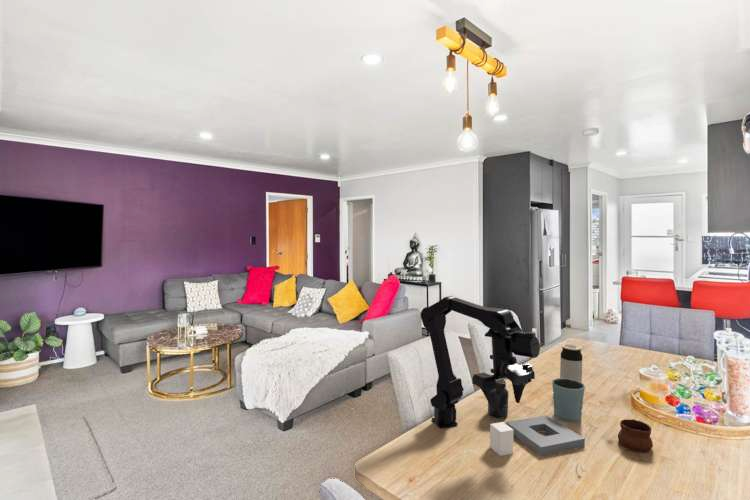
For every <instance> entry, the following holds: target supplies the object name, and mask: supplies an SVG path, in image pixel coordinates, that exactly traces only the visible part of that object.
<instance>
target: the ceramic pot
mask: <svg viewBox="0 0 750 500" xmlns="http://www.w3.org/2000/svg"><path fill="white" fill-rule="evenodd" d="M619 425H620V430H619V431H618V434H617V439H618V445H619V446H621V447H623V449H626V450H629V451H630V452H634V453H640V454H641V453H643V454H644V453H650V452H651V450H652V448H653V447H654V446H653V444H654V443H653V440H652V437H651V434H652V427H651V426H650V425H649V424H647V423H645V422H643V421H641V420H636V419H628V418H627V419H622V420H621V421H620V422H619ZM633 460H635V461H638V462H639V461H640V462H644V463H648V464H649V463H650V464H652V463H653V462H649V461H645V460H644V461H643V460H641V459H634V458H633Z"/></svg>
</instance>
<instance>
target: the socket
mask: <svg viewBox="0 0 750 500" xmlns="http://www.w3.org/2000/svg"><path fill="white" fill-rule="evenodd" d="M505 424H506V425H508V426H509V427H510V428H512V429H513V430H514V433H513V437H516V438H517V439H518V440H519V441H521V443H523V444H525V446H527V447H528V448H530V449H531V450H532V451H534V452H535V453H536V454H538V455H539V456H545V455H546V456H547V455H551V454H552V455H553V454H556V453H561V452H565V451H570V450H576V449H581V448H584V447H585V446H586V445H585V444H586V442H585V441H586V440H585V439H586V438H585V437H583V436H581V435H580V434H578V433H576V432H575V431H573V430H571V429H570V428H569V427H566V426H565V425H563V424H562V423H559V422H558V421H556V420H555V419H554V418H551V417H550V416H548V415H546V414H545V415H544V414H543V415H540V416H533V417H528V418H527V417H526V418H522V419H515V420H514V419H513V420H509V421H505ZM541 432H545V433H546V434H548V435H545V436H543V435H542V434H541Z"/></svg>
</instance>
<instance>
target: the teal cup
mask: <svg viewBox="0 0 750 500" xmlns="http://www.w3.org/2000/svg"><path fill="white" fill-rule="evenodd" d="M551 383H552V384H551V385H552V393H553V394H552V396H553V397H552V398H553V415H554V417H555V418H557V419H558V420H559V421H562V422H565V423H574V424H575V423H580V422H581V421H582V414H583V413H582V410H583V404H584V395H585V394H584V393H585V387H586V386H585V384H584V383H583V382H582V383H581V382H579V381H576V380H573V379H567V378H560V377H558V378H554V379H553V380H552V381H551Z"/></svg>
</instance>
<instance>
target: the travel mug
mask: <svg viewBox="0 0 750 500" xmlns="http://www.w3.org/2000/svg"><path fill="white" fill-rule="evenodd" d="M561 349H562V350H561V351H560V365H559V367H560V368H559V369H560V370H559V378H567V379H573V380H576V381H579V382H581V383H583V354H582V350H583V347H582V346H580V345H578V344H573V343H563V344H562V345H561Z"/></svg>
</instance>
